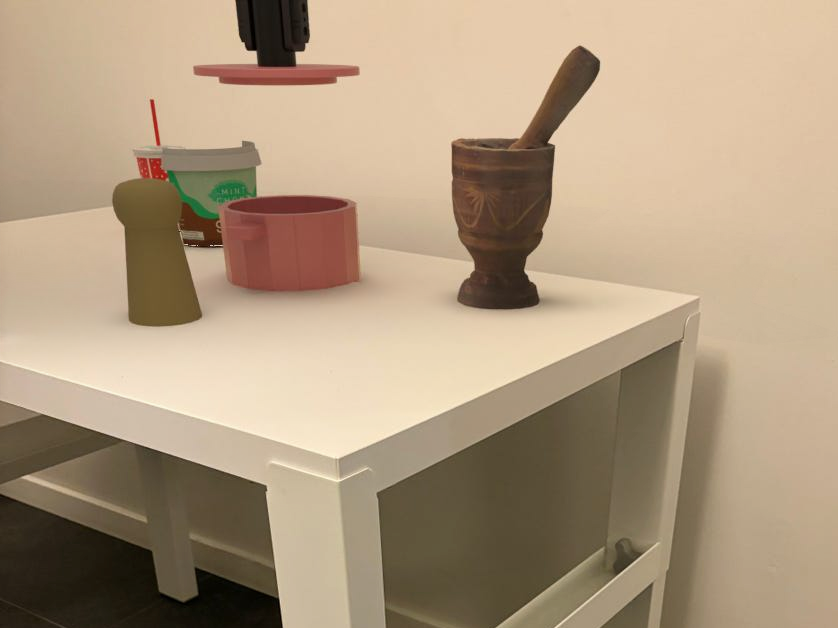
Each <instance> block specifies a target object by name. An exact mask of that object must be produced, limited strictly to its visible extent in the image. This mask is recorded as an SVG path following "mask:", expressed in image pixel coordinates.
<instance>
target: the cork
mask: <svg viewBox="0 0 838 628" xmlns="http://www.w3.org/2000/svg"><path fill="white" fill-rule="evenodd" d="M111 203H112V207H113V211H114V214H115V216H116V219H117V220H118V222H120V223H121V224H122V226H123V227H124V228H123V229H124V248H125V249H124V251H125V269H126V287H127V288H126V290H127V291H126V292H127V308H128V310H127V311H128V321H129V322H130V323H131V324H133V325H136V326H142V327H157V328H158V327H160V328H161V327H173V326H182V325H186V324H191V323H194V322H196V321H199V320H200V319H202V317H203V313H202V310H201V306H200V302H199V298H198V294H197V290H196V286H195V283H194V279H193V276H192V272H191V269H190V265H189V262H188V258H187V254H186V250H185V245H184V244H183V239H182V235H181V231H180V232H179V228H178V222H179V220H180V218H181V214H182V202H181V197H180V194H179V192H178V190H177V189H176V187H175V186H174V185H173V184H172V183H170V182H168V181H164V180H160V179H153V178H141V177H139V178H132V179H129V180H125V181H122V182H119V183H118V184H117V185H116V186H115V187H114V189H113V191H112V199H111Z"/></svg>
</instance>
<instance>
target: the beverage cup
mask: <svg viewBox="0 0 838 628" xmlns="http://www.w3.org/2000/svg"><path fill="white" fill-rule="evenodd" d="M149 104H150V110H151V111H150V112H151V116H152V118H151V119H152V124H153V125H152V126H153V130H154V136H155V137H154V138H155V143H156V144H150V145H143V146H141V145H140V146H134V147H132V152H133V157H135V158H136V162H137V167H138V171H139V176H140V177H139V178H153V179H160V180H164V181H168V182H169V178H168V174H167V170H162V169H161V155H163V150H162V148H167V149H187V148H186V146H183V145H172V144H171V145H168V144H161V137H160V131H159V124H158V119H157V111H156V104H155V99H153V98H150V99H149ZM178 228H179V230H180V226H179V222H178Z"/></svg>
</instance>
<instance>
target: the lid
mask: <svg viewBox="0 0 838 628" xmlns="http://www.w3.org/2000/svg"><path fill="white" fill-rule="evenodd" d="M251 2H252V12H253V22H254V32H255V43H256V51H255V53H256V61H257V63H222V64H199V65H198V64H197V65H193V66H192V69H193V70H192V71H193V75H194V76H199V77H213V78H215V77H216V78H218V83H219V84H222V85H236V86H321V85H334V84H337V83H338V78H345V77H346V78H347V77H357V76H360V72H361V71H360V66H358V65H349V64H347V65H346V64H327V63H326V64H323V63H321V64H319V63H297V55H296V54H297V52H288V51H287V50H286V48H285V41H284V29H283V17H282V5H281V0H251Z"/></svg>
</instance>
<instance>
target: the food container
mask: <svg viewBox="0 0 838 628" xmlns="http://www.w3.org/2000/svg"><path fill="white" fill-rule="evenodd" d="M162 150H163V155H161V169H162V170H167V174H168V178H169V182H170V183H172V184H173V185H174V186H175V187H176V189H177V190H178V192H179V194H180V197H181V202H182V214H181V218H180V220H179V226H180V235H181V239H182V243H183V245H184V244H188V245H196V246H197V245H198V246H210V245H213V246H214V245H223V241H222V233H221V225H220V217H219V209H218V207H219V206H220V205H221V204H223V203H224V202H228V201H232V200H236V199H243V198H251V197H258V192H257V189H258V187H257V185H258V184H257V167H259V166H261V165H262V164H263V163H262V160H261V156H260V153H259V150H258V148H256V144H255V142H254V141H249V140H241V146H237V147H225V148H224V147H223V148H206V149H205V148H200V149H199V148H198V149H197V148H195V149H193V148H189V149H188V148H186V149H167V148H162Z"/></svg>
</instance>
